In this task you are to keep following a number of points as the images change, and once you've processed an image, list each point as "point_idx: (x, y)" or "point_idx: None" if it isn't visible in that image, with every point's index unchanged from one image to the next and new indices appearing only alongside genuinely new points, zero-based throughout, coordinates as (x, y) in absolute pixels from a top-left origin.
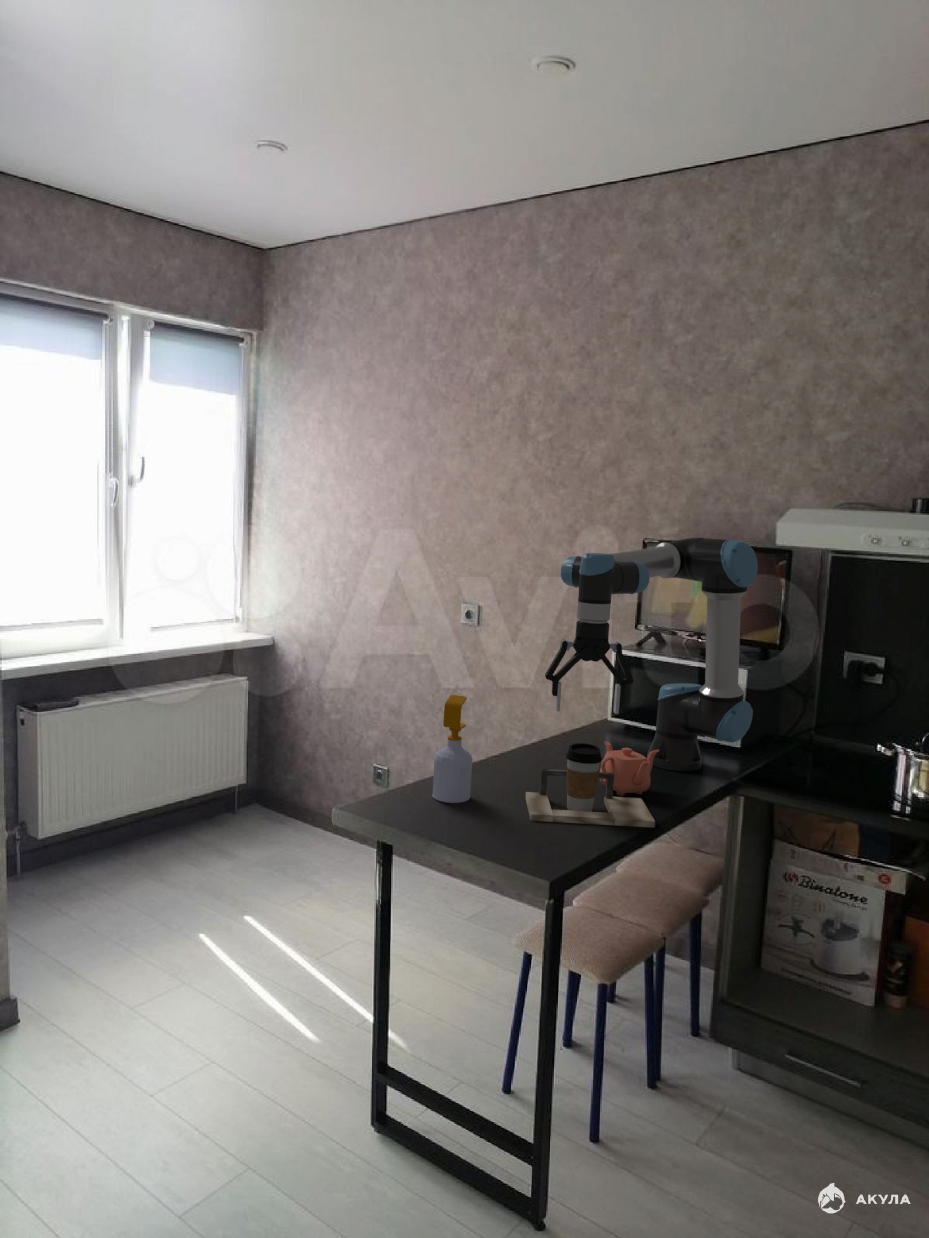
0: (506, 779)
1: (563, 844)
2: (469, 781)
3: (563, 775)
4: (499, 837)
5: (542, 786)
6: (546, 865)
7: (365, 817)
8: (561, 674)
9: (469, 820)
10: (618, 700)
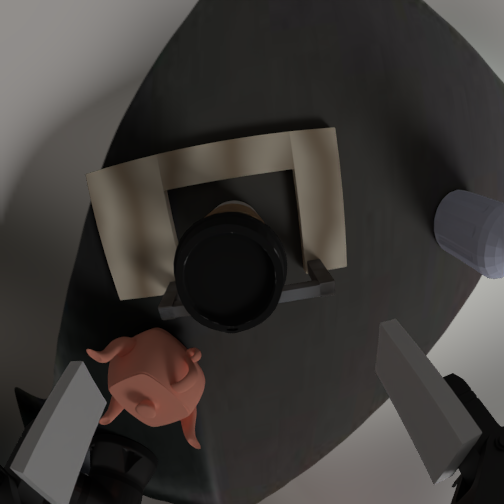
0: (367, 345)
1: (259, 23)
2: (454, 224)
3: None
4: (372, 37)
5: (319, 266)
6: None
7: None
8: (494, 497)
9: (427, 110)
10: (46, 408)
